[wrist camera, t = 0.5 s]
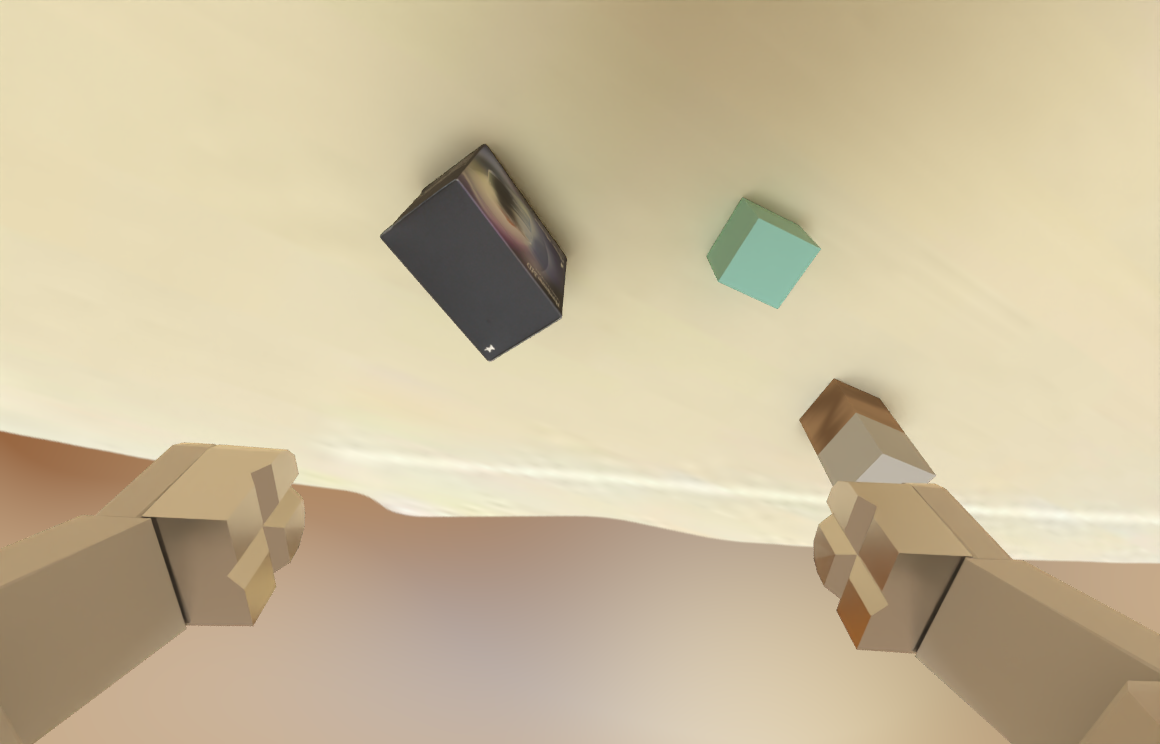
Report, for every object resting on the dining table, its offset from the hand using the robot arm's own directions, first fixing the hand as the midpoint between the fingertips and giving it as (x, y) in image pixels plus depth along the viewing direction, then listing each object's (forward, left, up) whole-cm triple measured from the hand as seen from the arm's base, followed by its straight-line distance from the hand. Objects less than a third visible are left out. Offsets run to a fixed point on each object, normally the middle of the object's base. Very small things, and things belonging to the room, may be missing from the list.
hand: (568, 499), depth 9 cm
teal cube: (+3, +15, -36) cm, 39 cm away
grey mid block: (+13, +31, -31) cm, 46 cm away
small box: (+10, -3, -36) cm, 38 cm away
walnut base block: (+13, +31, -36) cm, 49 cm away
